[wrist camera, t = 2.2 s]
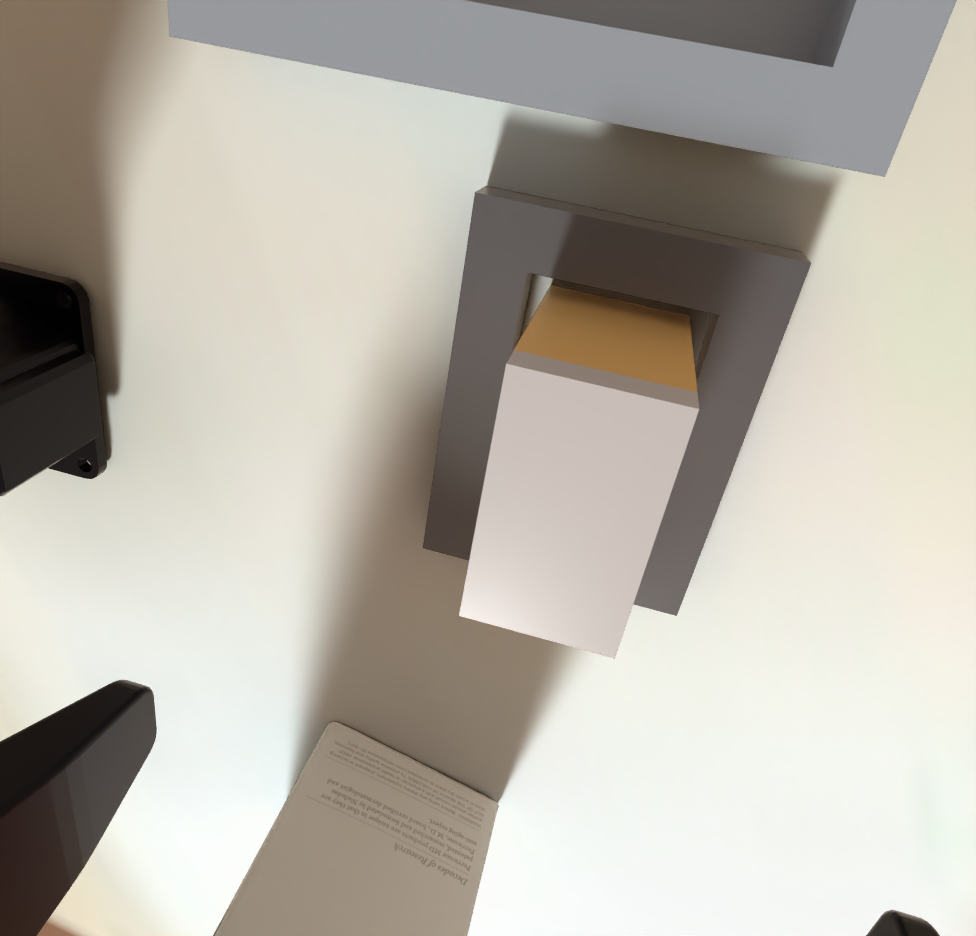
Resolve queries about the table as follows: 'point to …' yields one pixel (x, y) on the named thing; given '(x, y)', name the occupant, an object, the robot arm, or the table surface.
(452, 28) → the tray
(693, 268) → the holder
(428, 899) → the supplement box
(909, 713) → the table surface
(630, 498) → the white and orange block
